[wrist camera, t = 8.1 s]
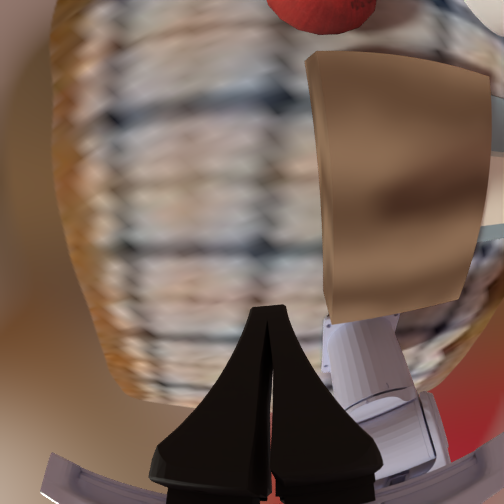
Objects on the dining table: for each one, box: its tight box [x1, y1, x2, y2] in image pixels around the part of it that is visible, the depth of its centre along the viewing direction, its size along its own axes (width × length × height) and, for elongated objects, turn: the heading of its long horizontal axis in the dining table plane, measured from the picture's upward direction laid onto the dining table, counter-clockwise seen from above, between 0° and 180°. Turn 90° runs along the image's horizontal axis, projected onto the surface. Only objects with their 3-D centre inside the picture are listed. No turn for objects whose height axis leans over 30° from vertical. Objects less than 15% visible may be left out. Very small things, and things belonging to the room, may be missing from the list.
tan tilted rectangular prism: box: [481, 151, 504, 226], centre depth 15 cm, size 6×9×2 cm, turn 100°
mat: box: [477, 95, 504, 243], centre depth 15 cm, size 14×10×1 cm
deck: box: [304, 51, 492, 325], centre depth 16 cm, size 18×12×4 cm, turn 10°
